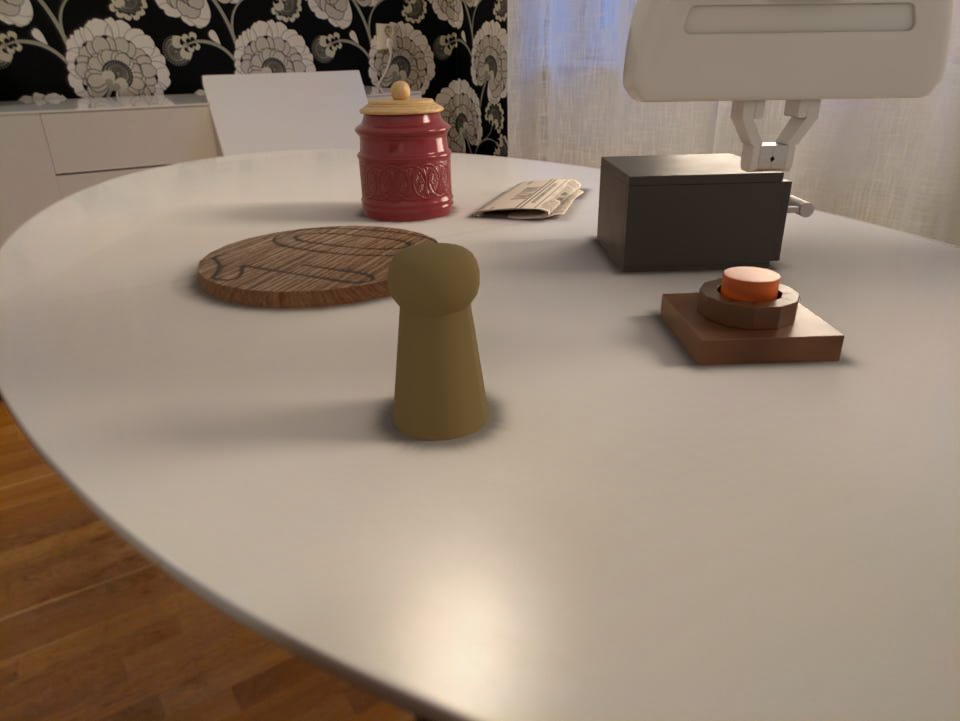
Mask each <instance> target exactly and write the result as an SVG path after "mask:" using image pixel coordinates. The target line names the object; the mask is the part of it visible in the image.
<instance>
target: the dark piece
mask: <svg viewBox="0 0 960 721" xmlns="http://www.w3.org/2000/svg"><path fill="white" fill-rule="evenodd" d="M792 186H793V181H792V180H789V179H787V178H784V177H783V185H782V191H781V197H780V203H779V209H778V215H777V221H776V227H775V234H774V240H773V246H772V252H771V258H770V262H779V261H780V257H781V256H780V255H781V251H782V247H783V246H782V245H783V239H784V233H785V227H786V221H787V216H788V214H796V215H797V216H799V217H802V218H809V217H811V216H812V215H813V214H814V212H815V205H814V204H813V203H811V202H809V201H807V200H804V199H802V198H800V197H797V196H795V195H793V194H791V193H792Z"/></svg>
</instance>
